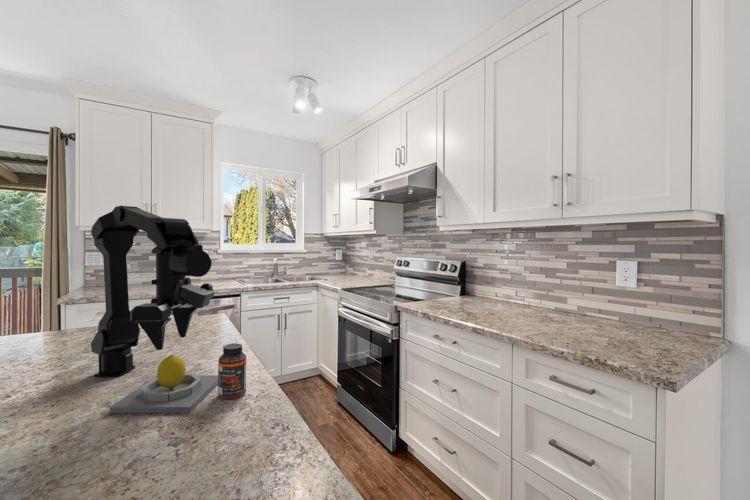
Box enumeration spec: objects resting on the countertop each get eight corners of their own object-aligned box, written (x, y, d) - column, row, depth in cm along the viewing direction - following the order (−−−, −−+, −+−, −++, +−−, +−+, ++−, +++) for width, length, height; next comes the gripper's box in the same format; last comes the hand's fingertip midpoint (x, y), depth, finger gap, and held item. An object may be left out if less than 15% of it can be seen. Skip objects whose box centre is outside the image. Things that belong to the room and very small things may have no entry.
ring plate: (109, 413, 69) (109, 399, 69) (157, 380, 85) (157, 369, 85) (189, 412, 69) (189, 399, 69) (222, 380, 85) (222, 369, 85)
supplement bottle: (218, 403, 74) (218, 351, 73) (217, 392, 79) (217, 343, 78) (248, 397, 76) (247, 347, 76) (244, 387, 82) (244, 340, 81)
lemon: (172, 396, 74) (172, 359, 74) (151, 393, 75) (150, 357, 75) (191, 385, 79) (191, 351, 79) (171, 383, 80) (170, 349, 80)
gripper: (185, 279, 67) (186, 357, 68) (224, 270, 86) (225, 331, 86) (128, 279, 67) (129, 357, 67) (179, 270, 85) (180, 331, 86)
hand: (171, 343), depth 77 cm, fingers open, 9 cm apart
